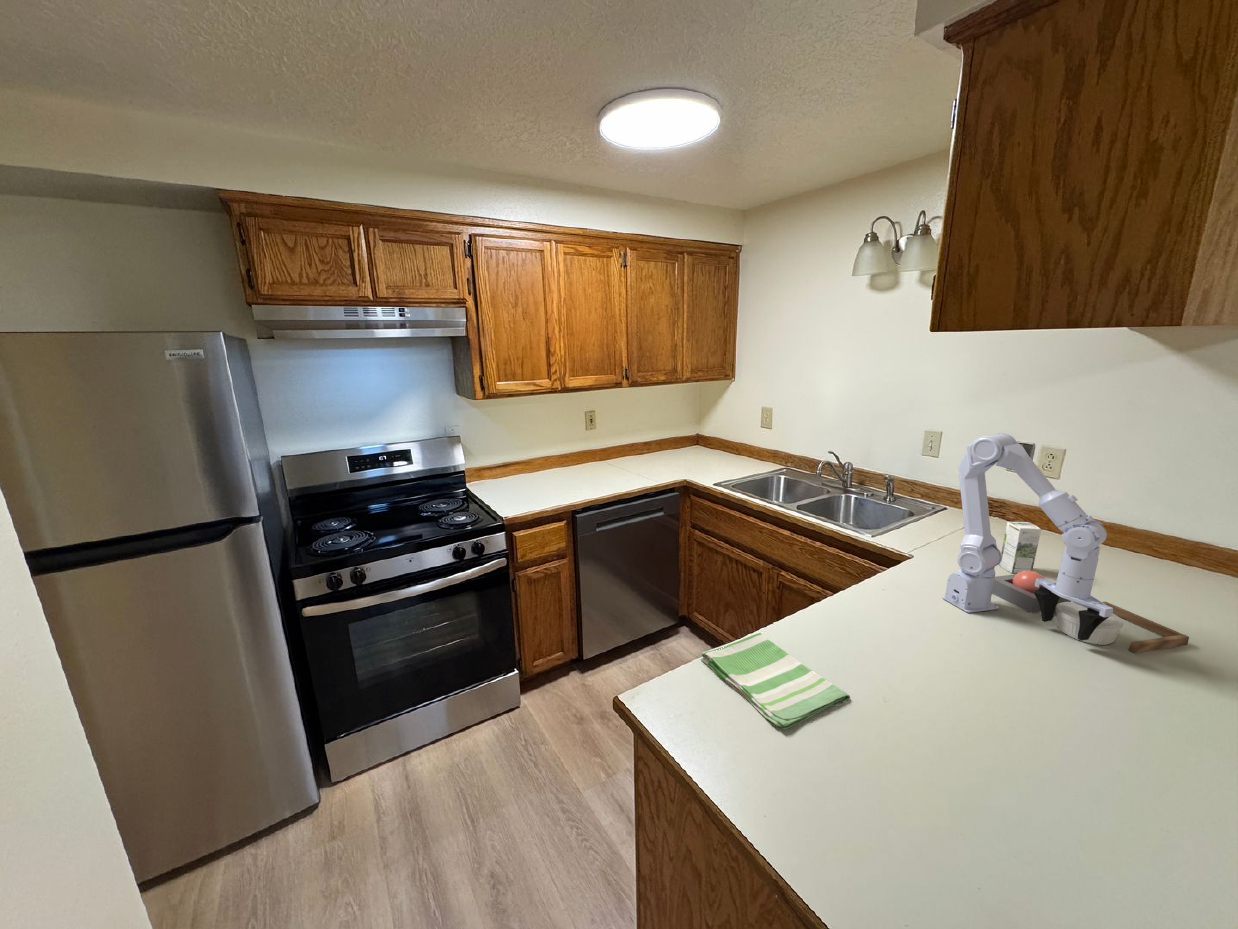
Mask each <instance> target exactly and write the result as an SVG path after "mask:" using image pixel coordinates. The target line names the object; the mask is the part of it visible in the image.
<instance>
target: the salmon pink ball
mask: <svg viewBox="0 0 1238 929" xmlns="http://www.w3.org/2000/svg"><path fill="white" fill-rule="evenodd" d="M1038 578H1044V579H1046V578H1045V577H1044V576H1043V575H1042V574H1040V573H1038V572H1036V571H1033V570H1032V571H1021V572H1019V573H1017V574H1016V575H1015V576H1014V578H1013V585H1015V586H1017V587H1019V588H1022V589H1024V590H1026V591H1028V592H1030V593H1034V591H1035V590H1038V589H1039V588H1038V587H1036V586H1035V581H1036V579H1038Z"/></svg>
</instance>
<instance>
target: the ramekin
mask: <svg viewBox="0 0 1238 929" xmlns="http://www.w3.org/2000/svg"><path fill="white" fill-rule="evenodd" d="M1081 610H1087V608H1085V607H1083V606H1081V605H1079V604H1076V603H1074V602H1072V601H1071V602H1062V603H1059V604H1057V606H1056V610H1055V613H1056V612H1057V615H1056V625H1057V628H1058V629H1059V630H1060V631H1061V632H1062V633H1063V632H1064V633H1063V634H1065V635H1066V634H1067V636H1068V637H1070V638H1072V639H1074V638H1075V639H1074V640H1077V641H1079V639H1078V631H1079V626H1080V618H1079V613H1078V612H1079V611H1081ZM1123 627H1124V621H1123V619H1122V618H1120V617H1118V616H1117V615H1115V614H1113V613H1112V616H1111V617H1109V618H1107V619H1106V620H1104V621H1103V622H1102V623H1101V624H1100V625H1099V626H1098V627H1097V628H1096V629H1095V630H1094V631H1093V633H1092V634H1091V636H1090V638H1089V639H1088V640H1080V642H1084V643H1086V644H1092V645H1097V644H1098V645H1097V646H1099V645H1100V646H1105V645H1110V644H1112V643H1114V642H1115V640H1116V638H1117V637H1118V635H1119V633H1120V631H1121V629H1123Z"/></svg>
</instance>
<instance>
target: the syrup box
mask: <svg viewBox="0 0 1238 929" xmlns="http://www.w3.org/2000/svg"><path fill="white" fill-rule="evenodd" d="M1041 531H1042V529H1041V528H1040V527H1039V526H1037V525H1036V524H1033V523H1031V522H1027V521H1006V527H1005V531H1004V532H1005V533H1004V538H1003V543H1002V547H1001V551H1000V552H1001V554H1002V560H1001V562H1000V564H999V567H1000V568H1002V569H1004V570H1005V571H1007V572H1008V573H1010V574H1013V575H1014V574H1017V573H1019V572H1021V571H1033V569H1034V565H1035V561H1036V556H1037V551H1038V548H1039V543H1040V537H1041V533H1042V532H1041Z"/></svg>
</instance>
